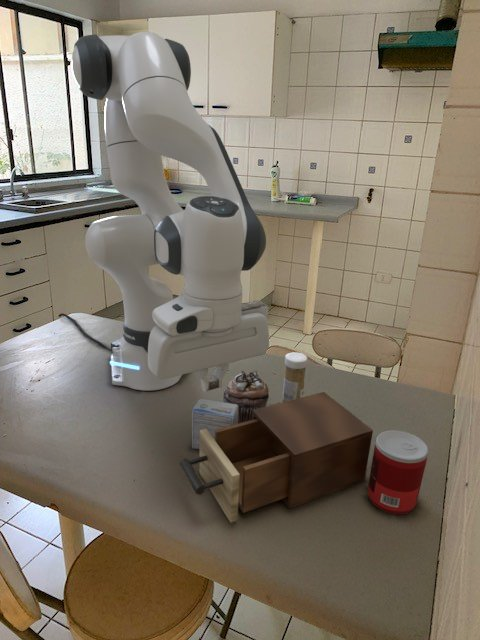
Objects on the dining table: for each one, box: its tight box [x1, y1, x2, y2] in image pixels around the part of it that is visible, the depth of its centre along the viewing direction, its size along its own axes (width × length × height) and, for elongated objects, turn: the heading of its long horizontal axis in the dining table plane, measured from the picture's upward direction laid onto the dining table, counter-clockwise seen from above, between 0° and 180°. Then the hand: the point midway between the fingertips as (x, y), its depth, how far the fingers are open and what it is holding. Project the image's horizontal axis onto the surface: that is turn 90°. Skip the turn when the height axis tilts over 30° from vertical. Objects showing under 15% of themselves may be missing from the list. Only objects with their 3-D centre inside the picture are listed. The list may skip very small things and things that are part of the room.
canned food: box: [367, 429, 429, 515], centre depth 75 cm, size 8×8×11 cm
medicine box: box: [191, 398, 238, 450], centre depth 87 cm, size 8×4×9 cm, turn 77°
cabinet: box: [252, 391, 374, 510], centre depth 81 cm, size 16×14×11 cm
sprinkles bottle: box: [282, 351, 308, 402], centre depth 98 cm, size 5×5×14 cm
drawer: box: [179, 419, 292, 524], centre depth 76 cm, size 19×12×9 cm, turn 117°
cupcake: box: [222, 370, 270, 424], centre depth 97 cm, size 10×10×10 cm
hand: (211, 388), depth 75 cm, fingers closed
